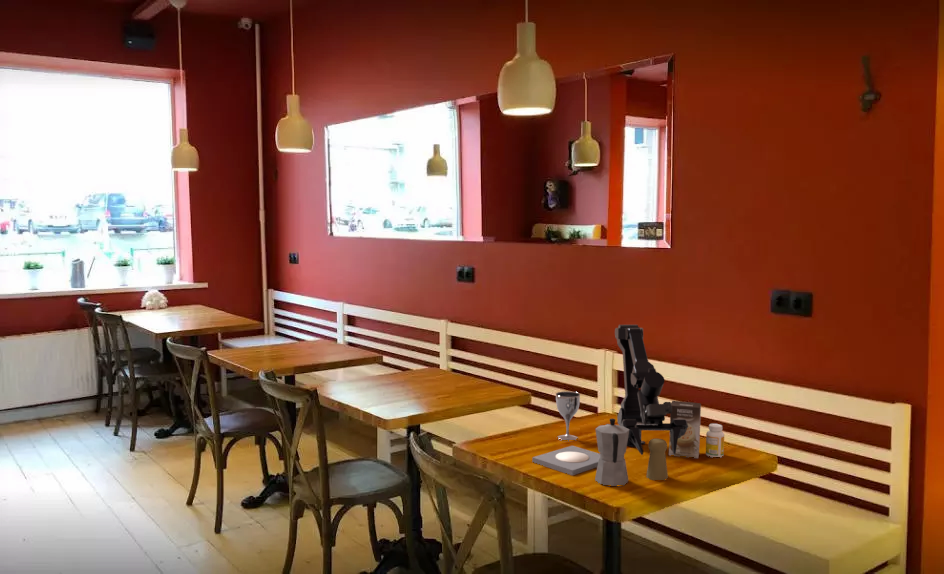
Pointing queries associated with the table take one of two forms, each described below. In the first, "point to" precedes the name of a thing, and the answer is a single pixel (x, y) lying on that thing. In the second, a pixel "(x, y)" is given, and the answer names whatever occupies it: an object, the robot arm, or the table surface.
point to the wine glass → (567, 409)
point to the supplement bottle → (715, 441)
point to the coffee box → (691, 439)
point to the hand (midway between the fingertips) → (658, 453)
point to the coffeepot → (612, 454)
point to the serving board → (569, 460)
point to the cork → (657, 460)
